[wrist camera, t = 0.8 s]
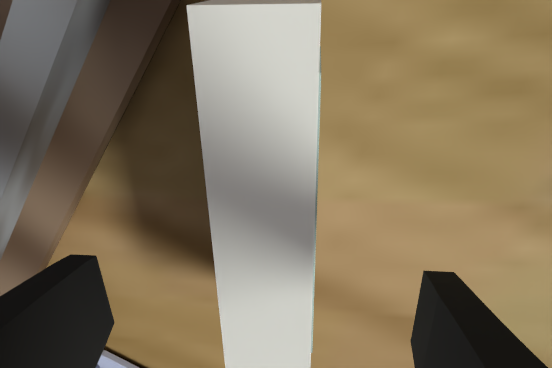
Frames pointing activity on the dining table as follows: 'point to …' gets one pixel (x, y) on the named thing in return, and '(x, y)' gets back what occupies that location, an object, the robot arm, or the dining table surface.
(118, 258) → the dining table surface
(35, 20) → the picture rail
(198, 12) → the tall cream box
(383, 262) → the dining table surface
